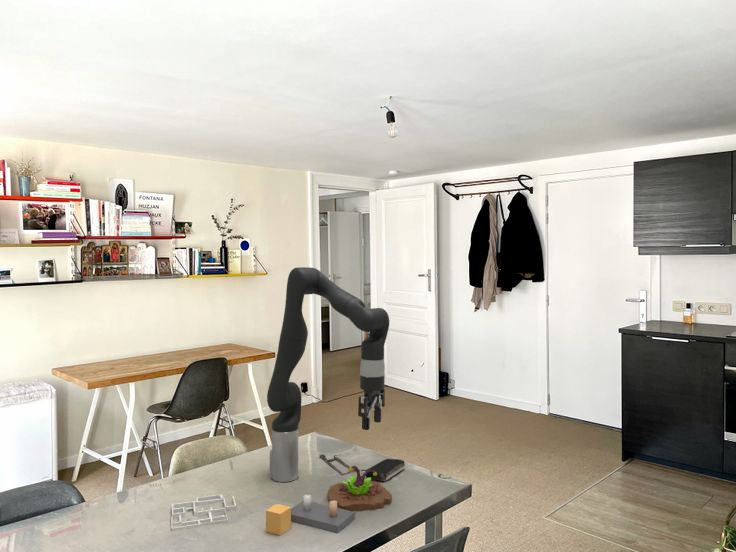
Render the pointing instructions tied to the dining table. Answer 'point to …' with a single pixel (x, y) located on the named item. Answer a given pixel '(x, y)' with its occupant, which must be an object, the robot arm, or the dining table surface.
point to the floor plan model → (200, 512)
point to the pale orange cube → (278, 519)
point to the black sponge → (386, 469)
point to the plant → (359, 493)
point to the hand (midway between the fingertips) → (371, 425)
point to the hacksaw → (338, 461)
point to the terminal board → (321, 515)
